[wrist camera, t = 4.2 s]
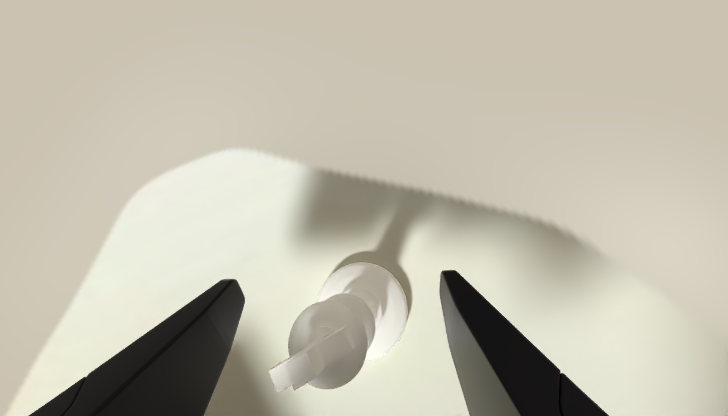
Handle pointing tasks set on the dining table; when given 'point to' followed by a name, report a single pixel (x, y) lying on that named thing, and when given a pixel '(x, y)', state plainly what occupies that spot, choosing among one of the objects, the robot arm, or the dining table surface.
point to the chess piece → (344, 328)
